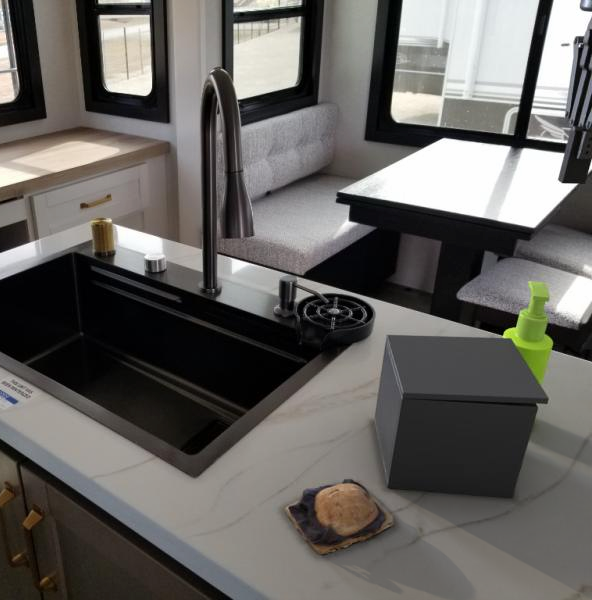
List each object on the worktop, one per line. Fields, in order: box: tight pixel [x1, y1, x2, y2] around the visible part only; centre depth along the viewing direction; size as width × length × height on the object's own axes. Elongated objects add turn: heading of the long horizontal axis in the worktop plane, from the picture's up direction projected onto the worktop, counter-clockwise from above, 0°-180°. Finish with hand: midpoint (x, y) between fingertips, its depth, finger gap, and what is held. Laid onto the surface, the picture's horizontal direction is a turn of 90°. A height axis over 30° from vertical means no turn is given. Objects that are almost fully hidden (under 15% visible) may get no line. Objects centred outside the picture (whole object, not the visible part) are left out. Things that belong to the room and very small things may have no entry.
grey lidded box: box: [373, 340, 539, 499], centre depth 80 cm, size 15×13×13 cm
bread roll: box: [284, 478, 395, 555], centre depth 73 cm, size 11×8×4 cm
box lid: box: [385, 334, 550, 405], centre depth 76 cm, size 15×13×1 cm
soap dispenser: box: [502, 280, 554, 386], centre depth 86 cm, size 6×7×20 cm
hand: (571, 181), depth 80 cm, fingers closed
